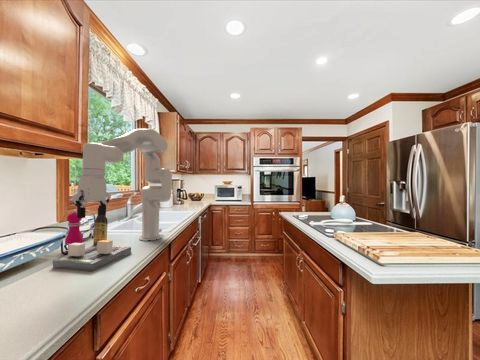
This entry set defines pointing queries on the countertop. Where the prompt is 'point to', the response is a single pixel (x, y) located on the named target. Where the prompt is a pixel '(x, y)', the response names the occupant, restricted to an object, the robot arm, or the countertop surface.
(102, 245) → the switch
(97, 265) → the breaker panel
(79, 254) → the on switch
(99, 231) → the sauce bottle
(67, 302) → the countertop surface
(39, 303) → the countertop surface
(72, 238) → the pepper mill
